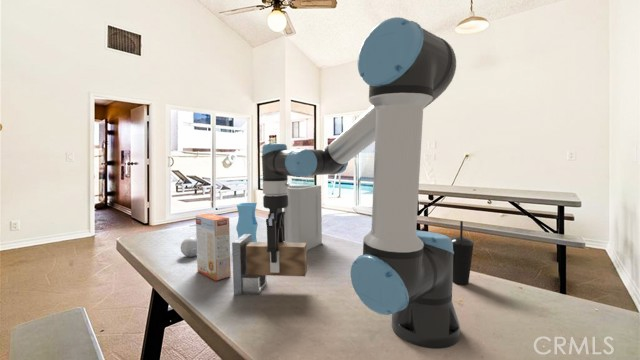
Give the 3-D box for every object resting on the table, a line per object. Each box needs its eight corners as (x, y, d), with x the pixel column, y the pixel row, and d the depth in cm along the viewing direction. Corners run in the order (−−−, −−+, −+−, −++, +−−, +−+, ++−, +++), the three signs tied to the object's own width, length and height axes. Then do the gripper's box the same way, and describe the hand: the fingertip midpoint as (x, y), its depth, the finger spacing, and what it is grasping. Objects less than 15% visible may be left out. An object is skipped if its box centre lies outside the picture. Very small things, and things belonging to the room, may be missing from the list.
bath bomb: (203, 256, 123) (202, 238, 122) (182, 260, 118) (181, 241, 118) (199, 252, 129) (198, 234, 129) (179, 255, 125) (178, 237, 124)
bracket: (257, 295, 87) (256, 243, 86) (233, 294, 88) (232, 242, 86) (267, 281, 97) (266, 234, 96) (245, 281, 97) (244, 234, 96)
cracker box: (232, 276, 101) (230, 217, 100) (215, 282, 97) (213, 220, 95) (212, 267, 111) (210, 212, 109) (197, 271, 106) (194, 214, 105)
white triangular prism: (297, 238, 149) (296, 184, 147) (322, 242, 141) (321, 185, 139) (273, 248, 133) (271, 187, 131) (300, 254, 125) (298, 189, 123)
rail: (306, 270, 92) (306, 242, 92) (304, 276, 88) (304, 247, 87) (251, 269, 94) (250, 241, 93) (246, 274, 89) (245, 246, 89)
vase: (254, 248, 134) (252, 205, 132) (237, 248, 134) (235, 205, 132) (258, 243, 141) (256, 202, 140) (241, 243, 142) (240, 202, 140)
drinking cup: (472, 289, 89) (474, 225, 88) (445, 283, 93) (446, 222, 92) (474, 280, 96) (476, 220, 95) (449, 275, 100) (450, 218, 99)
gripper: (280, 198, 80) (282, 281, 82) (293, 191, 97) (294, 259, 99) (254, 198, 81) (256, 280, 82) (271, 191, 98) (273, 258, 100)
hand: (277, 268), depth 91 cm, fingers closed on rail, 5 cm apart
